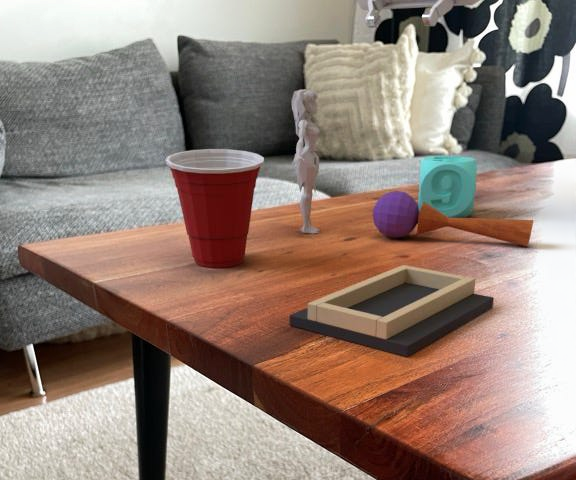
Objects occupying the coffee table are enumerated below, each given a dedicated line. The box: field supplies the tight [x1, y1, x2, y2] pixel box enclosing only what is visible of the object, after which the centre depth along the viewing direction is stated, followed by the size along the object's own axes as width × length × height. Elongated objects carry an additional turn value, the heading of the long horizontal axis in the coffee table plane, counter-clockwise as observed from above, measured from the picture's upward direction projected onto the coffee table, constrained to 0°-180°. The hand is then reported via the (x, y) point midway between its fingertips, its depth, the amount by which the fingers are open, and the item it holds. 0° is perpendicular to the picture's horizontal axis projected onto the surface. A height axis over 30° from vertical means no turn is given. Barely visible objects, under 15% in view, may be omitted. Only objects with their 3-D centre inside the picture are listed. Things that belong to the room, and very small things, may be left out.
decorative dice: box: [417, 155, 478, 218], centre depth 108 cm, size 8×8×8 cm
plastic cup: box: [164, 148, 265, 268], centre depth 81 cm, size 11×11×12 cm
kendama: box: [372, 190, 534, 248], centre depth 92 cm, size 6×6×20 cm
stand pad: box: [289, 264, 495, 358], centre depth 66 cm, size 12×16×2 cm
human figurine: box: [290, 89, 321, 235], centre depth 95 cm, size 12×4×18 cm, turn 168°
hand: (398, 23), depth 103 cm, fingers open, 8 cm apart
